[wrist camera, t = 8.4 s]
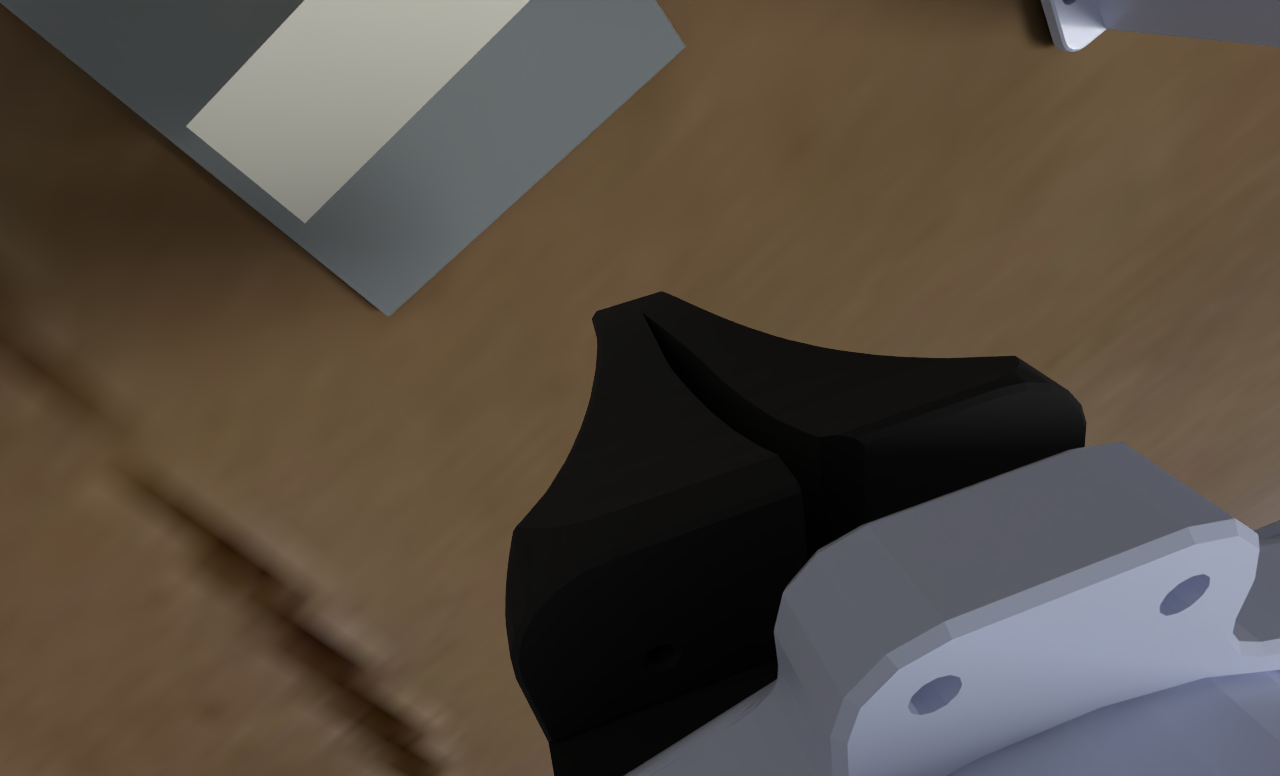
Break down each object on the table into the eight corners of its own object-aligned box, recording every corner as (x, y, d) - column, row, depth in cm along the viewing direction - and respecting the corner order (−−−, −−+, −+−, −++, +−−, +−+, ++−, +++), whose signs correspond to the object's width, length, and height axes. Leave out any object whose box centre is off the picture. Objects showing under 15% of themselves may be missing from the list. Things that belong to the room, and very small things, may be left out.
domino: (488, -16, 13) (530, 0, 8) (345, 129, 14) (304, 223, 9) (423, -96, 12) (428, -131, 7) (274, 62, 13) (186, 125, 8)
